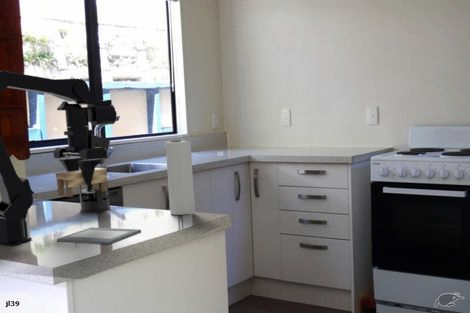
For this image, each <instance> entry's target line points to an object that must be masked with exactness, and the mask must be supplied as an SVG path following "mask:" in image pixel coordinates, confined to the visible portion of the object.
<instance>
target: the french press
mask: <svg viewBox="0 0 470 313" xmlns="http://www.w3.org/2000/svg"><path fill="white" fill-rule="evenodd" d="M100 159H102V161H99V163H98V164H97V165H96V166H98V165H103V164H105V158H100ZM86 186H87V185H86ZM107 189H108V191H101V183H99V190H93V184H91V185H90V186H87V188H86V189H85V188H84V189H82V186H78V191H79V201H80V209H79V211H80V212H81V213H86V212H89V213H99V212H98V211H100V212H104V211H109V210H110V209H111V206H110V197H109V196H110V195H109V186H108V181H107ZM104 192H105V193H106V196H105V197H104V196H103V195H104V194H103V193H104ZM82 195H87V198H84V199H83V197H82ZM94 195H95V196H94Z"/></svg>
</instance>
